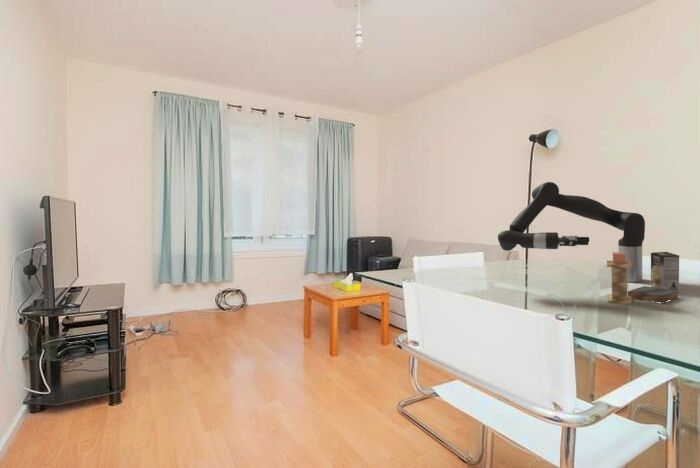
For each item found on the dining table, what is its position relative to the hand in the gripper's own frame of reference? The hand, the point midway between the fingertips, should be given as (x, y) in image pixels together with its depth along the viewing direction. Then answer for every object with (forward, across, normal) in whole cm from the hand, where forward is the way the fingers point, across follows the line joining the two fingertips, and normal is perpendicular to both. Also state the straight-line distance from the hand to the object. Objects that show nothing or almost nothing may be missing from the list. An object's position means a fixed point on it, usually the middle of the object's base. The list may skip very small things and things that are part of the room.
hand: (588, 240), depth 155 cm
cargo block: (+10, 0, +9) cm, 14 cm away
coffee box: (+27, +23, +25) cm, 43 cm away
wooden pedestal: (+10, 0, +25) cm, 27 cm away
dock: (+22, +8, +25) cm, 34 cm away
